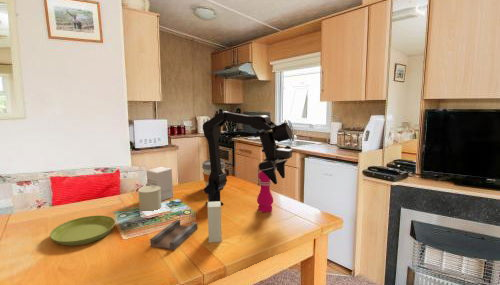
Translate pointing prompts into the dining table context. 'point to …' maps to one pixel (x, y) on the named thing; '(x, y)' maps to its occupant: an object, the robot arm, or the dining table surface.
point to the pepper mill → (264, 194)
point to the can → (149, 198)
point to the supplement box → (161, 181)
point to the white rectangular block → (214, 222)
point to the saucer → (82, 230)
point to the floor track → (173, 235)
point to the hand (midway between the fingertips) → (279, 180)
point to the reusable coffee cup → (207, 170)
